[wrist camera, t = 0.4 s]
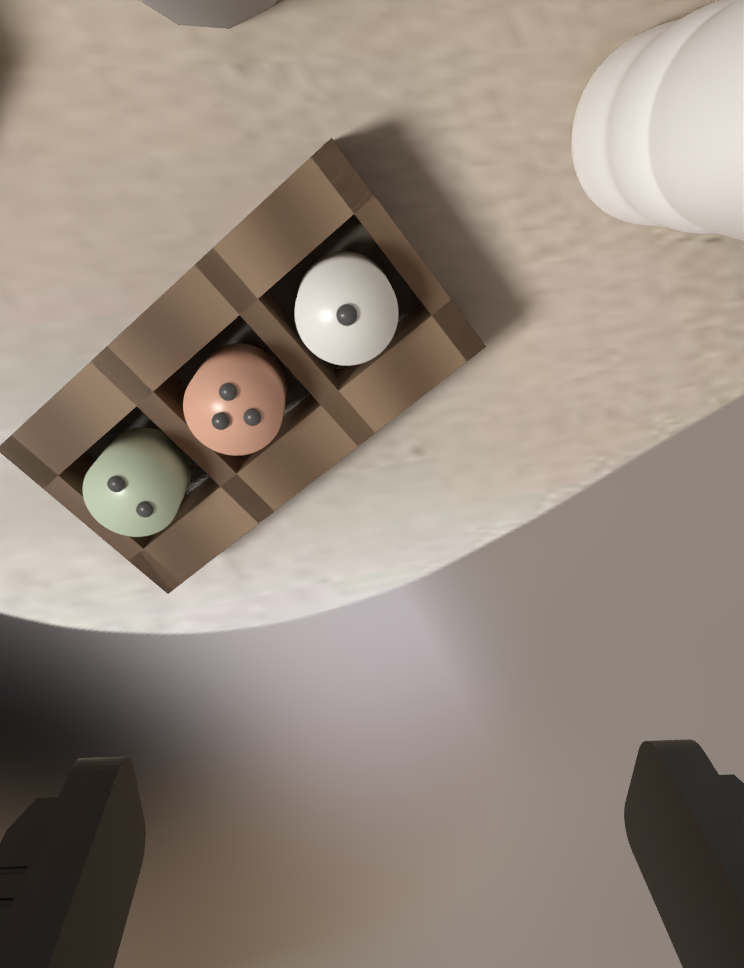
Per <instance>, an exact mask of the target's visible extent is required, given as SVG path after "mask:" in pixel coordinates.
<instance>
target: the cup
mask: <svg viewBox="0 0 744 968" xmlns="http://www.w3.org/2000/svg"><path fill="white" fill-rule="evenodd" d="M139 1H141V2H143V3H144V4H146V5H147V6H149V7H151V8H152V9H154V10H155V11H157V12H159V13H160V14H162V15H163V16H165V17H167V18H168V19H170V20H171V21H173V22H175V23H176V24H178V25H187V26H200V27H213V28H227V29H229V28H231V27H233V26H235V25H237V24H239V23H241V22H243V21H245V20H247V19H249V18H251V17H253V16H255V15H257V14H259V13H261V12H263V11H265V10H267V9H269V8H271V7H273V6H274V5H275V4H276V2H277V1H278V0H139Z"/></svg>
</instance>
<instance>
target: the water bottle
mask: <svg viewBox="0 0 744 968" xmlns="http://www.w3.org/2000/svg"><path fill="white" fill-rule="evenodd" d="M572 157H573V162H574V167H575V171H576V174H577V177H578V179H579V182H580V184H581V186H582V188H583V189H584V191H585V192H586V194H587V195H588V197H589V198H590V199H591V200H592V201H593V202H594V203H595V204H596V205H597V206H598V207H599V208H600V209H601V210H603V211H604V212H606V213H607V214H609V215H611V216H613V217H615V218H617V219H620V220H622V221H625V222H629V223H634V224H640V225H648V226H664V227H667V228H670V229H674V230H678V231H682V232H688V233H696V234H722V235H725V236H728V237H732V238H735V239H739V240H743V241H744V0H718V1H716V2H713V3H711V4H708V5H706V6H704V7H701V8H699V9H697V10H695V11H693V12H691V13H690V14H688V15H686V16H684V17H683V18H681V19H678V20H674V21H670V22H667V23H664V24H661V25H659V26H656V27H653V28H651V29H649V30H646V31H644V32H642V33H640V34H638V35H636V36H634V37H633V38H631V39H630V40H628V41H626V42H625V43H623V44H622V45H621V46H619V47H618V48H617V49H616V50H615V51H614V52H612V53H611V54H610V55H609V56H608V57H607V58H606V59H605V60H604V62H603V63H602V64H601V65H600V66H599V68H598V69H597V70H596V71H595V73H594V74H593V76H592V77H591V79H590V81H589V82H588V84H587V86H586V88H585V90H584V92H583V94H582V96H581V99H580V101H579V104H578V107H577V110H576V114H575V118H574V122H573V130H572Z"/></svg>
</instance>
